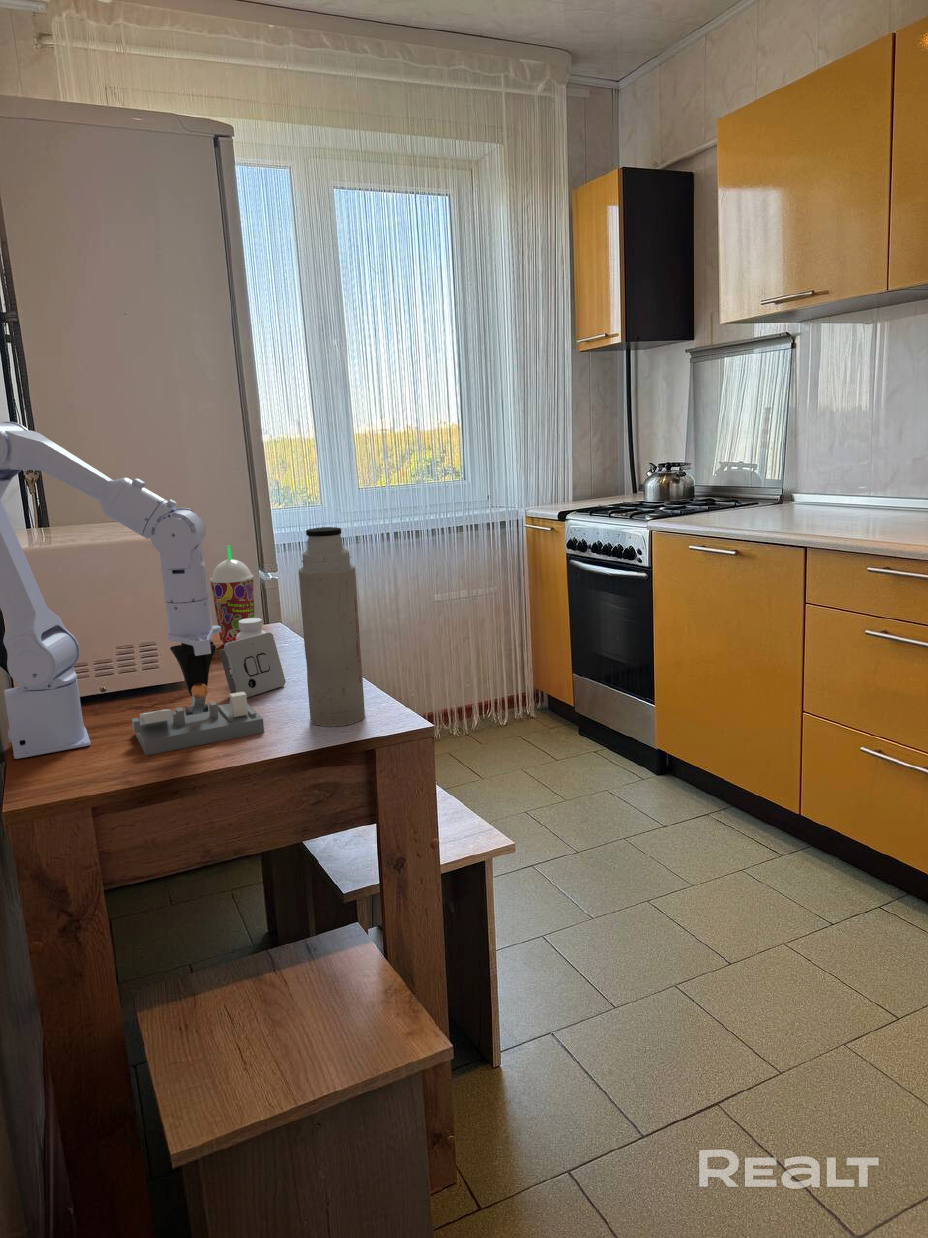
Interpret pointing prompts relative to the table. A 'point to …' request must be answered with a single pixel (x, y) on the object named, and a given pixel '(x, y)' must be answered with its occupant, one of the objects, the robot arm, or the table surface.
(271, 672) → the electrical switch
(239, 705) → the off-white rectangular block
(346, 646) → the thermos bottle
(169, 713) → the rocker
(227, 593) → the smoothie
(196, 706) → the lever
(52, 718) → the robot arm
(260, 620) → the supplement bottle
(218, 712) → the panel
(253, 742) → the table surface
